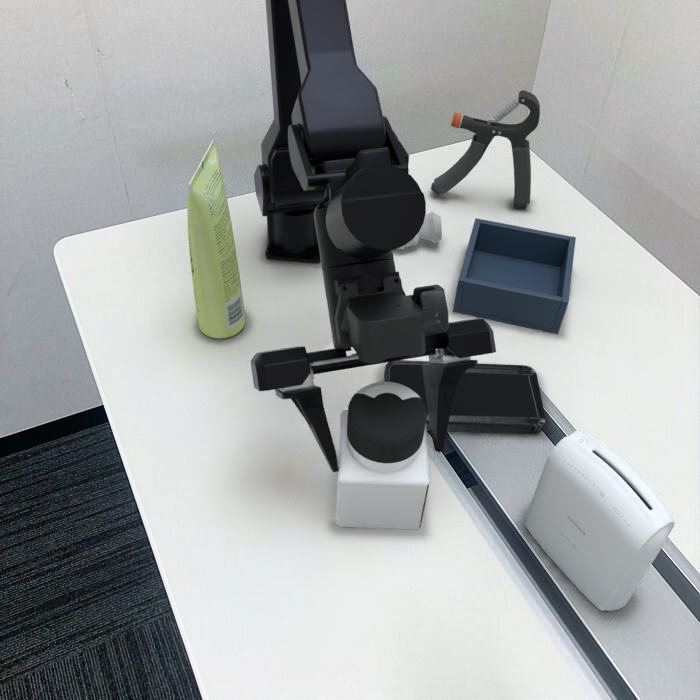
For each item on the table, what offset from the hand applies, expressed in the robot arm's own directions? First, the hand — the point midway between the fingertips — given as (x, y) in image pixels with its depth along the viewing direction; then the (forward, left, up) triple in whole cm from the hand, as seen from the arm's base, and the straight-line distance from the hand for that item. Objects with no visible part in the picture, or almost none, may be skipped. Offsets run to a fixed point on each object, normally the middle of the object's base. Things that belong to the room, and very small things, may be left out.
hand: (387, 461), depth 60 cm
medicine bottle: (0, +1, -7) cm, 7 cm away
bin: (+13, +30, -7) cm, 33 cm away
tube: (-18, +21, -7) cm, 28 cm away
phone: (+7, +13, -7) cm, 16 cm away
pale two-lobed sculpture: (+1, +37, -7) cm, 37 cm away
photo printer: (+16, -3, -7) cm, 18 cm away
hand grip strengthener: (+10, +47, -7) cm, 48 cm away
